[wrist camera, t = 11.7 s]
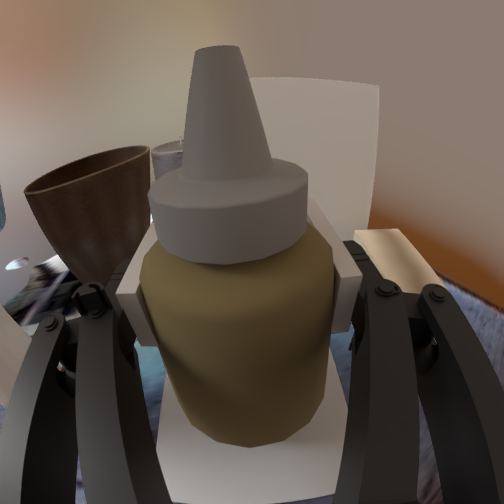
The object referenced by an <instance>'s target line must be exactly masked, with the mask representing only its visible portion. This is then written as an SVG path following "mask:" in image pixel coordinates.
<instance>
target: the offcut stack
mask: <svg viewBox="0 0 504 504" xmlns="http://www.w3.org/2000/svg"><path fill="white" fill-rule="evenodd" d="M353 241H355V242H356V243H358V244H359V245H361V246H362V247H363V249H364V250H365V252H366V254H367V255H368V256H369V257H370V260H372V262H373V263H374V265H375V266H376V268H377V269H378V271H379V272H380V274H381V275H382V277H383V278H384V279H388V280H391V281H393V282H395V283H396V284H397V285H398V286H400V288H401V290H402V292H407V293H417V294H420V293H421V291H422V288H423V287H424V286H425V285H427V284H430V283H431V284H438V285H441V286H443V287H444V288H446V286H445V285H444V284H443V282H442V281H441V280H440V279H439V277H438V276H437V275H436V273H435V272H434V271H433V269H432V268H431V267H430V266H429V264H428V263H427V262H426V261H425V260H424V259H423V257H422V256H421V255H420V254H419V252H418V251H417V250H416V249H415V248H414V246H413V245H412V244H411V243H410V242H409V241H408V240H407V238H406V237H405V236H404V235H403V234H402V233H401V232H400V230H398V229H376V230H375V229H374V230H355V232H354V238H353ZM446 289H447V288H446ZM447 290H448V289H447Z"/></svg>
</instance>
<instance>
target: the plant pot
mask: <svg viewBox="0 0 504 504" xmlns="http://www.w3.org/2000/svg"><path fill="white" fill-rule="evenodd" d="M149 190H150V149H149V147H148V146H129V147H123V148H117V149H112V150H108V151H104V152H101V153H97V154H94V155H90V156H87V157H84V158H81V159H79V160H76V161H73V162H70V163H68V164H66V165H63V166H61V167H59V168H57V169H55V170H52V171H51V172H49V173H47V174H45V175H43V176H41V177H40V178H38V179H36V180H35V181H34V182H32V183H31V184H29V185H28V186H27V187H26V188H25V190H24V194H25V196H26V199H27V201H28V203H29V205H30V207H31V210H32V212H33V214H34V216H35V218H36V220H37V221H38V224H39V226H40V227H41V229H42V231H43V232H44V234H45V236H46V238H47V239H48V241H49V242H50V244H51V245H52V247H53V248H54V250H55V251H56V253H57V254H58V255H59V257H60V258H61V260H62V261H63V262H64V263H65V265H66V266H67V267H68V268H69V270H70V271H71V272H72V273H73V274H74V275H75V276H76V277H77V279H78V280H79V281H80V282H81V283H82V284H83V285H84V284H86V283H89V282H100V283H101V284H102V285H103V286H104V288H106V286H107V284H108V282H109V281H110V278H111V276H112V275H113V273H114V271H115V269H116V267H117V266H118V265H119V264H120V263H121V262H122V261H123V260H124V259H130V258H133V257H134V255H135V253H136V251H137V249H138V247H139V245H140V243H141V241H142V240H143V238H144V236H145V234H146V232H147V230H148V229H149V227H150V205H149V200H148V196H147V194H148V192H149Z"/></svg>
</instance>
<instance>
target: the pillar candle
mask: <svg viewBox="0 0 504 504" xmlns="http://www.w3.org/2000/svg"><path fill="white" fill-rule="evenodd" d="M183 142H184V140H182V138H181V136H180V140H179V141H174V142H170V143H166V144H163V145H160V146H158V147H155V148H154V149H152V150H151V156H152V162H153V168H154V174H155V179H156V180H157V179H158V178H160V177H161V176H163V175H164V174H166V173H167V172H170V171H172V170H175V169H177V168H180V167H181V166H182V153H183Z"/></svg>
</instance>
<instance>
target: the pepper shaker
mask: <svg viewBox="0 0 504 504" xmlns="http://www.w3.org/2000/svg"><path fill="white" fill-rule="evenodd" d="M31 341H32V338H31V337H30V336H29V335H28V334H27V333H26V332H25V331H24V330H23V329H22V328H21V327H20V326H19V325H18V324H17V323H16V322H15V321H14V320H13V319H12V317H11V316H10V315H9V314H8V313H7V312H6V311H5V309H4V308H3V306H2V305H1V303H0V404H1V405H2V406H3V407H4V408H5V409H7V407H8V403H9V400H10V396H11V393H12V390H13V387H14V384H15V381H16V378H17V376H18V373H19V370H20V368H21V365H22V362H23V360H24V357H25V355H26V352H27V350H28V348H29V345H30V343H31ZM57 368H58V369H59V370H60V371H61V369H60V368H59V366H58V367H57Z"/></svg>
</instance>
